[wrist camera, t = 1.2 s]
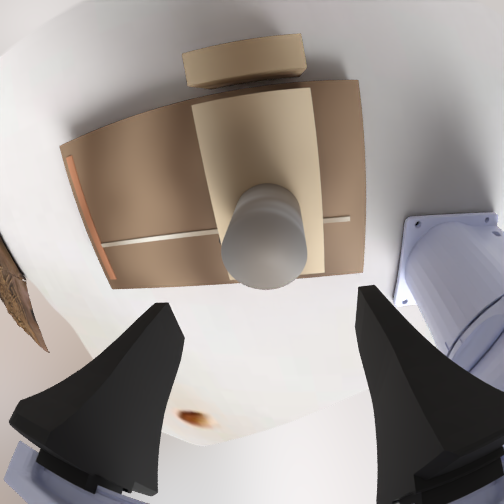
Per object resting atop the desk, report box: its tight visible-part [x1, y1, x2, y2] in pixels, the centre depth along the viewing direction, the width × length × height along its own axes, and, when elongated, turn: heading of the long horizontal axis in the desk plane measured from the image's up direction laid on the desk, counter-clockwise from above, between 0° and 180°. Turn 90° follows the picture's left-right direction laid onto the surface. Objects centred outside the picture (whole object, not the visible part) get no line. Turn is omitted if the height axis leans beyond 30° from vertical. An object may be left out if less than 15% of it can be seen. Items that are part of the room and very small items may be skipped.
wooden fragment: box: [0, 237, 50, 353], centre depth 26 cm, size 26×11×1 cm, turn 174°
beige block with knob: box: [182, 34, 325, 290], centre depth 12 cm, size 6×12×8 cm, turn 9°
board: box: [60, 80, 366, 289], centre depth 17 cm, size 19×12×2 cm, turn 99°
